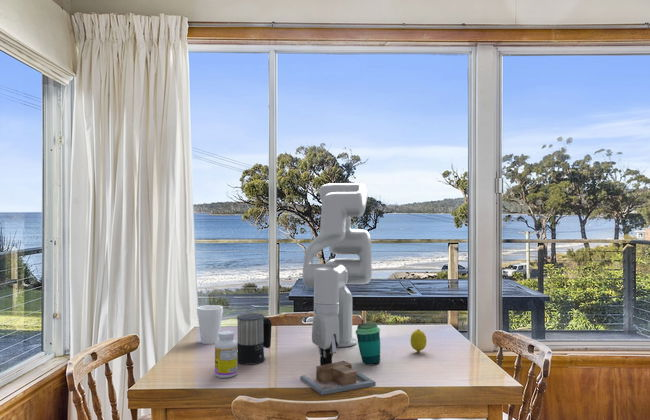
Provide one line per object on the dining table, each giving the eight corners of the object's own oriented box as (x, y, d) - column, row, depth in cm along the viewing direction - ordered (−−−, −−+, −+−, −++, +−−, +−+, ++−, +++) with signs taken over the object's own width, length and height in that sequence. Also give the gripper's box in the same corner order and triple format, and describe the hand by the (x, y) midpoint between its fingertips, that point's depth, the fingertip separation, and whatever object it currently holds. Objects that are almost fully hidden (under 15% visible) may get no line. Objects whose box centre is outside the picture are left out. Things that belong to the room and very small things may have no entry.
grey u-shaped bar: (300, 379, 147) (300, 375, 147) (350, 370, 155) (350, 367, 155) (321, 395, 134) (321, 391, 134) (375, 385, 142) (375, 381, 142)
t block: (316, 380, 146) (316, 366, 146) (343, 373, 152) (343, 360, 152) (336, 390, 138) (337, 375, 138) (364, 382, 144) (364, 368, 144)
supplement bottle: (216, 371, 154) (216, 329, 154) (238, 371, 154) (238, 329, 154) (213, 379, 147) (213, 335, 147) (236, 378, 147) (236, 334, 148)
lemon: (426, 354, 172) (426, 331, 172) (410, 353, 173) (410, 330, 173) (426, 350, 178) (426, 327, 178) (410, 349, 179) (410, 327, 179)
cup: (373, 367, 158) (373, 329, 158) (350, 363, 162) (351, 326, 162) (384, 361, 165) (384, 324, 165) (362, 357, 169) (362, 321, 169)
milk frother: (257, 366, 159) (257, 319, 159) (213, 361, 164) (213, 316, 164) (274, 354, 173) (274, 311, 173) (233, 350, 178) (233, 308, 178)
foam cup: (224, 343, 186) (224, 308, 186) (198, 346, 182) (198, 310, 183) (220, 337, 195) (220, 304, 195) (196, 339, 191) (196, 305, 191)
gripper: (304, 305, 156) (304, 364, 156) (326, 314, 142) (326, 378, 142) (326, 303, 159) (326, 361, 159) (349, 311, 146) (349, 374, 146)
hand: (326, 369), depth 151 cm, fingers closed
